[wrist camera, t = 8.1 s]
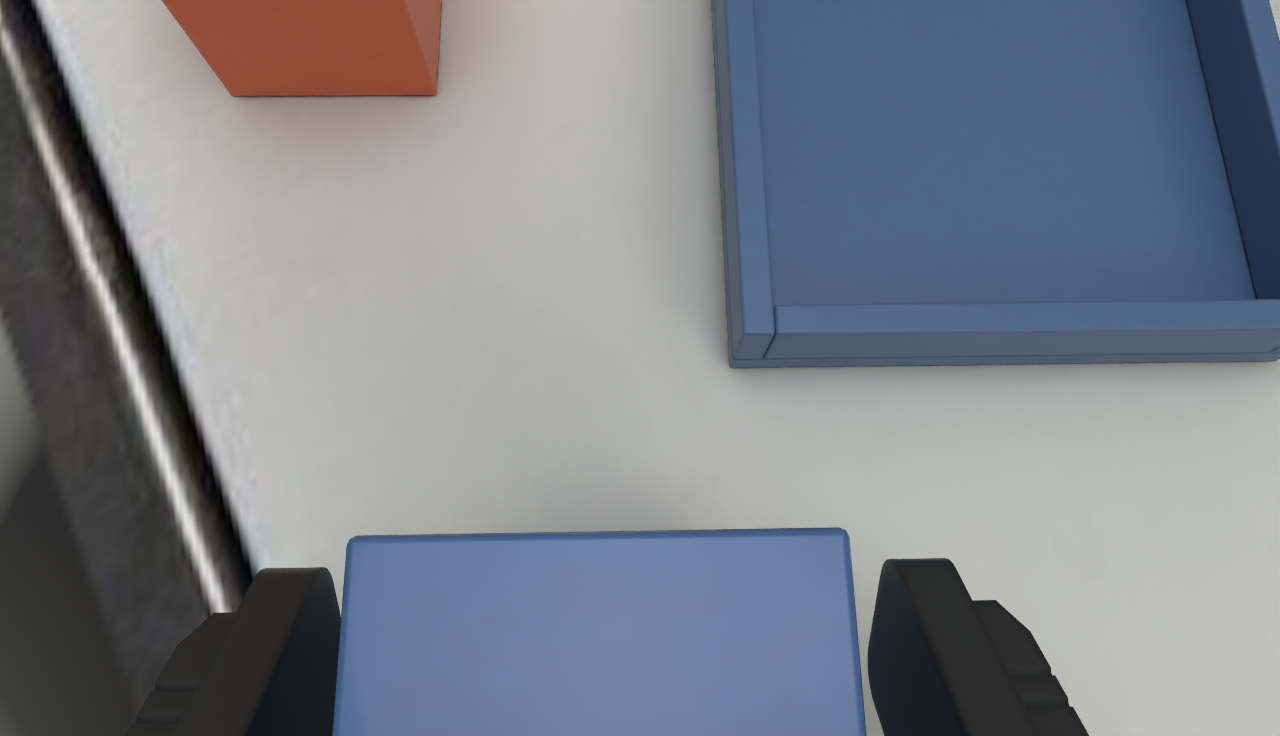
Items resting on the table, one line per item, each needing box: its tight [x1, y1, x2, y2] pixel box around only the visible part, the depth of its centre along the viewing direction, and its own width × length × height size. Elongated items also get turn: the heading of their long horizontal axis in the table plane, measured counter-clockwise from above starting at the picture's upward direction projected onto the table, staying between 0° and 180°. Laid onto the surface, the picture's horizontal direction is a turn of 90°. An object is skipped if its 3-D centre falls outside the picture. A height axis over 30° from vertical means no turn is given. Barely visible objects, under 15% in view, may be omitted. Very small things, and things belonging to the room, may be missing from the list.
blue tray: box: [711, 0, 1280, 368], centre depth 18 cm, size 11×11×2 cm
